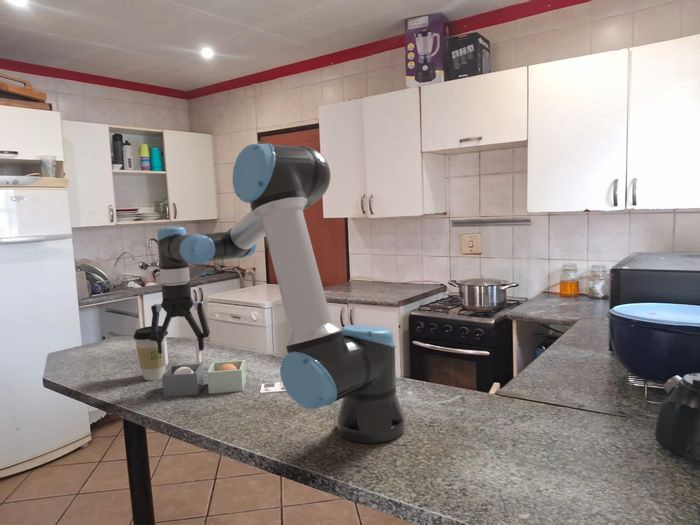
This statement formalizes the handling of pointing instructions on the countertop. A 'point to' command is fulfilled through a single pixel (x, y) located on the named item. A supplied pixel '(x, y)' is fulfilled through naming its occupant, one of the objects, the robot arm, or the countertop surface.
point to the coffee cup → (149, 354)
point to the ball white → (183, 370)
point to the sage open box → (226, 377)
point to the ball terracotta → (227, 367)
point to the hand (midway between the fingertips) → (182, 363)
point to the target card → (272, 387)
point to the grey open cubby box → (183, 381)
